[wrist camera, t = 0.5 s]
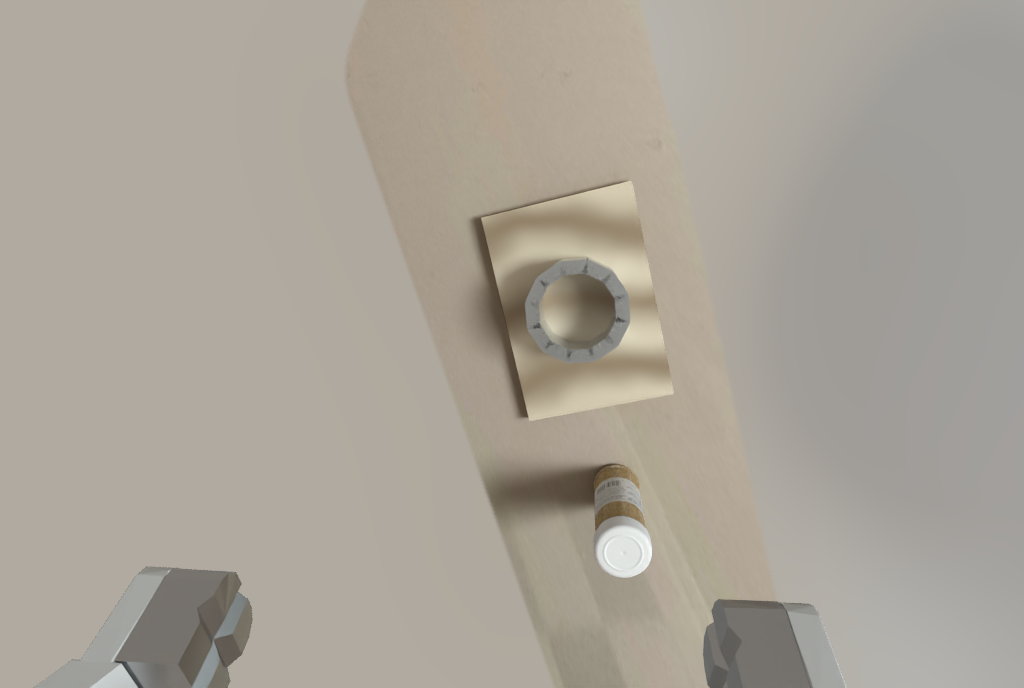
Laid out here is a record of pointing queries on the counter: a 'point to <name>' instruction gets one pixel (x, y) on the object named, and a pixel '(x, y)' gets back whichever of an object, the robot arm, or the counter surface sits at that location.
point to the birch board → (579, 300)
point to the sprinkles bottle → (620, 523)
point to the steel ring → (578, 349)
